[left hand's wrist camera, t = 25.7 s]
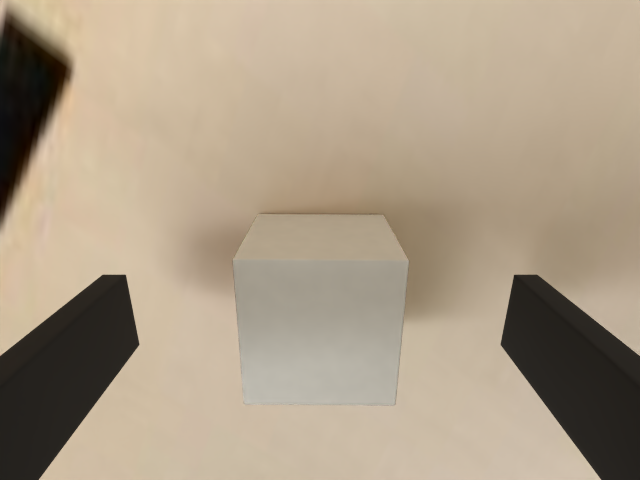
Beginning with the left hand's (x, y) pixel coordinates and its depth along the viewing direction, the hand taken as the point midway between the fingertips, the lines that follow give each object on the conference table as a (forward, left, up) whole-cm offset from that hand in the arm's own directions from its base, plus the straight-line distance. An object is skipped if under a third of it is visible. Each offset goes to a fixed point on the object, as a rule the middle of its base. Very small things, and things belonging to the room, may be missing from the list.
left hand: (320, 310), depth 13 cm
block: (0, 0, -3) cm, 3 cm away
